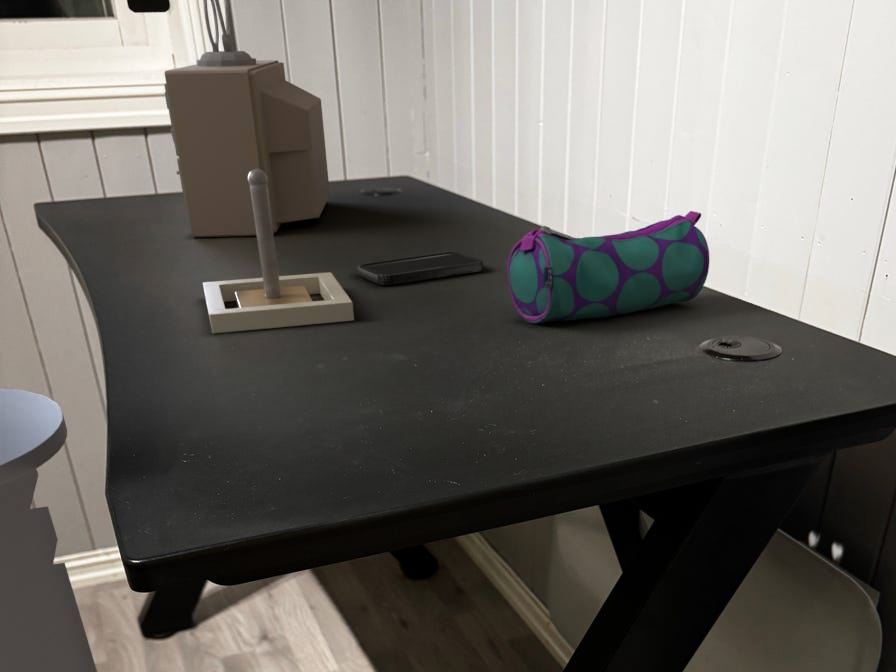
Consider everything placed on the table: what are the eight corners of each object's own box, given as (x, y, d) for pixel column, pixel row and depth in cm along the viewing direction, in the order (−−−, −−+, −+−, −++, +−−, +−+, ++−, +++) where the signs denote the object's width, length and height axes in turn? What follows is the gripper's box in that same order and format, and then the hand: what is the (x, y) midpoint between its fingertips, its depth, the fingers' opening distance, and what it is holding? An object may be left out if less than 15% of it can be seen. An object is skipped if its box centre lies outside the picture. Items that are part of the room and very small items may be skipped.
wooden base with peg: (242, 322, 103) (219, 176, 95) (236, 304, 109) (215, 166, 101) (315, 315, 104) (299, 171, 96) (305, 298, 111) (289, 162, 103)
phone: (354, 265, 120) (455, 250, 126) (355, 274, 120) (456, 259, 127) (381, 277, 114) (486, 261, 121) (382, 286, 115) (486, 270, 121)
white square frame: (212, 333, 99) (209, 314, 98) (205, 299, 111) (202, 282, 110) (354, 320, 102) (352, 302, 101) (332, 289, 115) (331, 272, 114)
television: (222, 200, 173) (181, -71, 151) (333, 197, 174) (308, -73, 152) (182, 238, 143) (123, -93, 121) (316, 235, 144) (282, -95, 122)
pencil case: (542, 335, 97) (545, 236, 91) (505, 315, 103) (505, 221, 98) (708, 310, 104) (719, 217, 98) (663, 293, 110) (671, 204, 105)
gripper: (56, -245, 75) (106, 13, 84) (34, -306, 61) (98, 11, 70) (153, -241, 76) (192, 12, 86) (154, -299, 62) (200, 10, 72)
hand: (150, 11), depth 78 cm, fingers open, 9 cm apart
